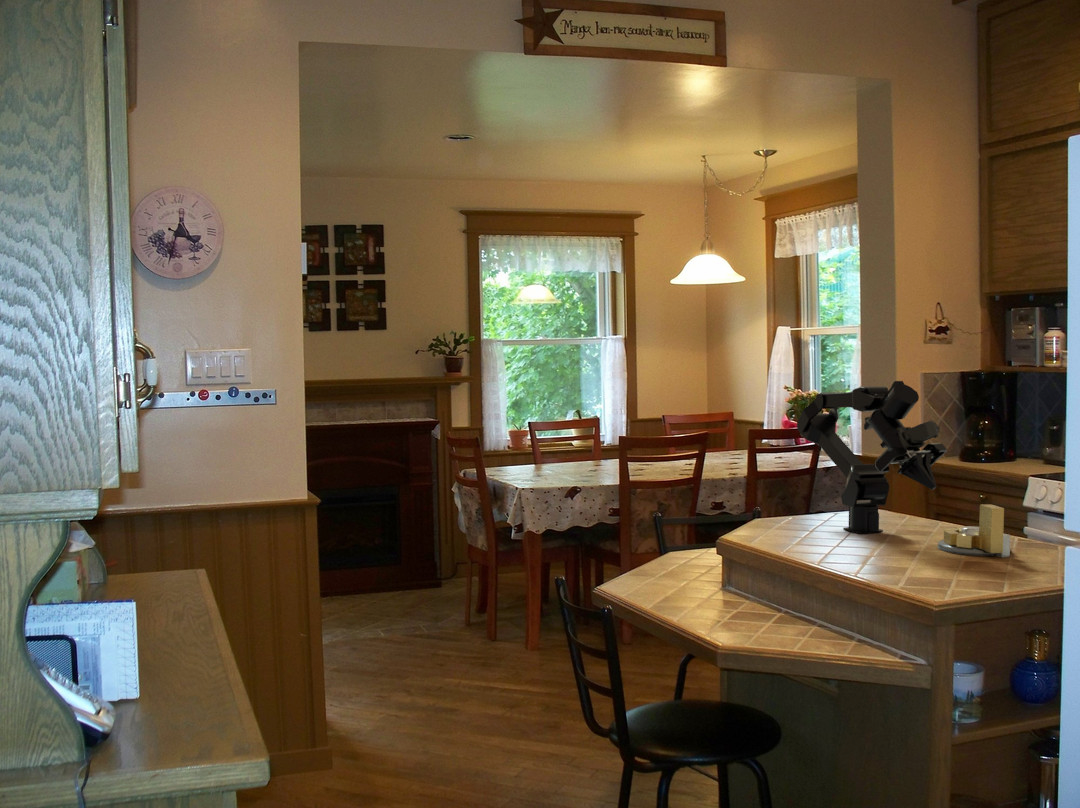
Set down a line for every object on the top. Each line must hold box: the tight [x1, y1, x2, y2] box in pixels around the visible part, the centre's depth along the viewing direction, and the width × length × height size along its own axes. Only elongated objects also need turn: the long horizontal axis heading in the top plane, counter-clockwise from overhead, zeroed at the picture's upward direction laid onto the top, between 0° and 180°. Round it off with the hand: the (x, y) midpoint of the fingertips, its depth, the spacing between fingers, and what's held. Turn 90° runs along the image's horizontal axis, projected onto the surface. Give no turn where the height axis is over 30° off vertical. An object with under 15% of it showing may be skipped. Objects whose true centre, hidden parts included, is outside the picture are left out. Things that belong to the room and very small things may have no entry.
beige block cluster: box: [943, 504, 1005, 553], centre depth 214 cm, size 11×16×9 cm
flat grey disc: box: [937, 525, 1011, 559], centre depth 216 cm, size 16×14×4 cm
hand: (934, 488), depth 221 cm, fingers closed
